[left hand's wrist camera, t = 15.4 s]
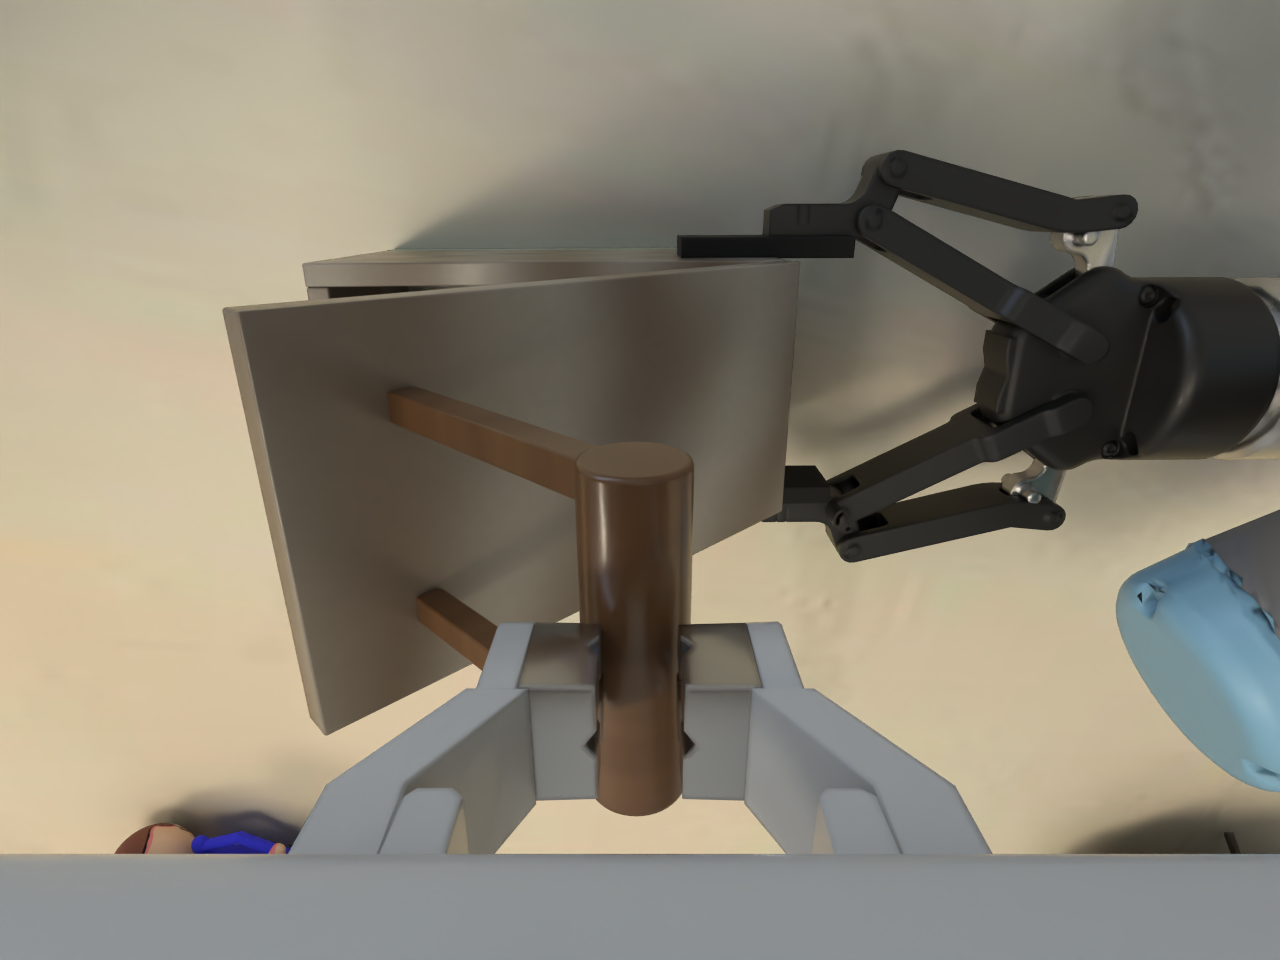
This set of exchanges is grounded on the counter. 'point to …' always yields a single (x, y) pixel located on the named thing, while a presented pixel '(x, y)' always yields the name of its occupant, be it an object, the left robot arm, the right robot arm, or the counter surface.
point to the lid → (516, 477)
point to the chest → (485, 268)
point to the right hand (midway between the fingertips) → (677, 373)
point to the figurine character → (195, 842)
